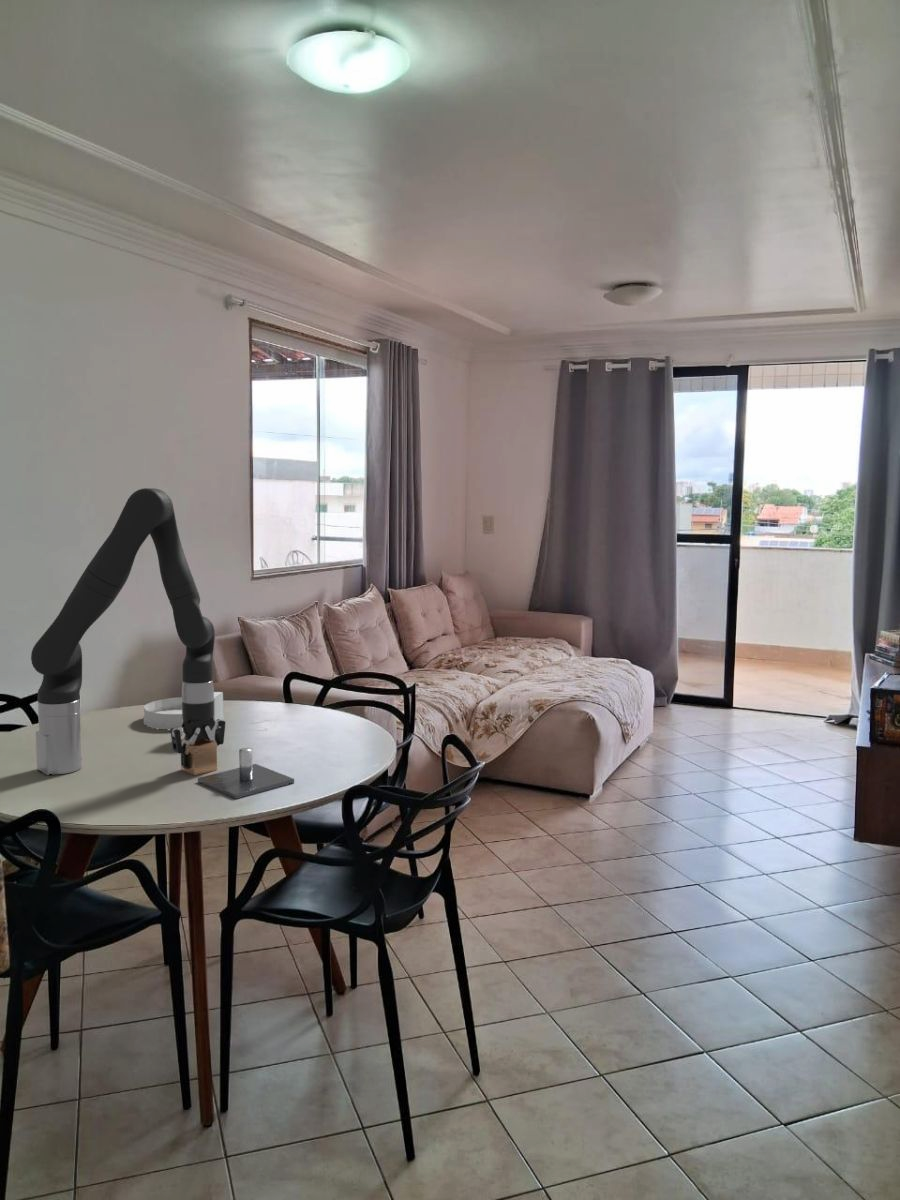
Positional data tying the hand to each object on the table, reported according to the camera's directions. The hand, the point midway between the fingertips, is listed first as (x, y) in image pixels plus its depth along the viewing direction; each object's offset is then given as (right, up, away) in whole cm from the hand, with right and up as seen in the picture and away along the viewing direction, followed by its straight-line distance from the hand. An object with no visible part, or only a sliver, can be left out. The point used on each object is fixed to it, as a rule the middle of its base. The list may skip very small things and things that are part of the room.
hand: (199, 765), depth 213 cm
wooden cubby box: (0, -1, 0) cm, 1 cm away
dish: (-18, +4, +46) cm, 50 cm away
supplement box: (-6, +2, +27) cm, 28 cm away
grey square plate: (+14, -2, -9) cm, 16 cm away
